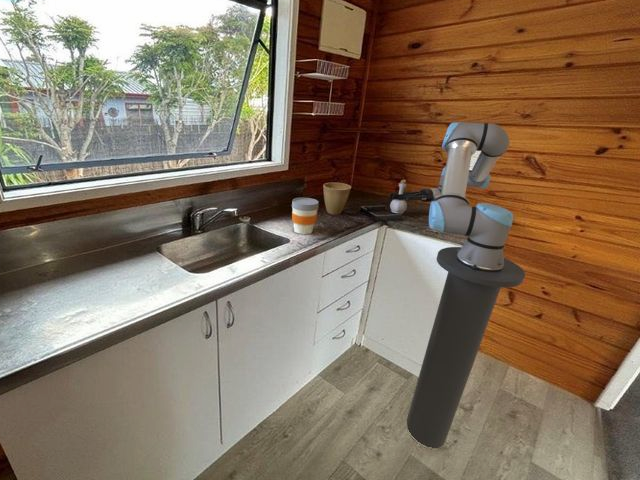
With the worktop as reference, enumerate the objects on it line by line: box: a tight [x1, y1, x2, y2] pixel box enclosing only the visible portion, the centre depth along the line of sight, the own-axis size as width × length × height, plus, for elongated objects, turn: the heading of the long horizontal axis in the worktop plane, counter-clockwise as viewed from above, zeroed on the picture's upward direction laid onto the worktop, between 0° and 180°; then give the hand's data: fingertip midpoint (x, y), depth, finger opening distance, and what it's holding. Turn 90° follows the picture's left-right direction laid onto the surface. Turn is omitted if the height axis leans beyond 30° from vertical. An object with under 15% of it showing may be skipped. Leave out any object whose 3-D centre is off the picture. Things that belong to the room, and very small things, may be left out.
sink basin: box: [359, 205, 403, 222], centre depth 169 cm, size 16×16×5 cm
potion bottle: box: [389, 179, 408, 214], centre depth 168 cm, size 9×9×18 cm
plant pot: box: [322, 182, 352, 216], centre depth 170 cm, size 15×15×16 cm
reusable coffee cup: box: [291, 197, 320, 235], centre depth 145 cm, size 12×13×15 cm
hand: (391, 196), depth 167 cm, fingers closed on potion bottle, 2 cm apart
